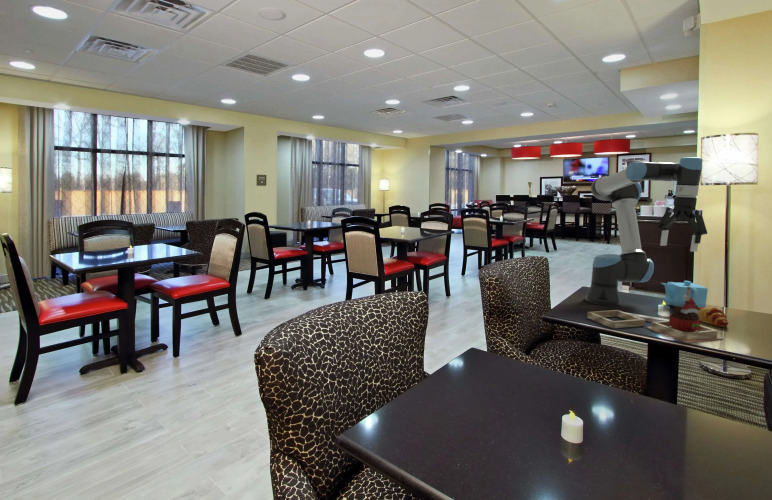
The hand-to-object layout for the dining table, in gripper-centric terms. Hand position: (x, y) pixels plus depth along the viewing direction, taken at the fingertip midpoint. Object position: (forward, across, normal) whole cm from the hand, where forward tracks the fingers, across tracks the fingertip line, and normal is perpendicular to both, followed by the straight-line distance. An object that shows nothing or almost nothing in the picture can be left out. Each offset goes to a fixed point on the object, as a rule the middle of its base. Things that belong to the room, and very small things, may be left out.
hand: (677, 248), depth 176 cm
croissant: (+32, +4, +19) cm, 37 cm away
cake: (+30, +14, -8) cm, 35 cm away
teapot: (+32, -16, +25) cm, 44 cm away
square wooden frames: (+31, +6, -16) cm, 35 cm away
